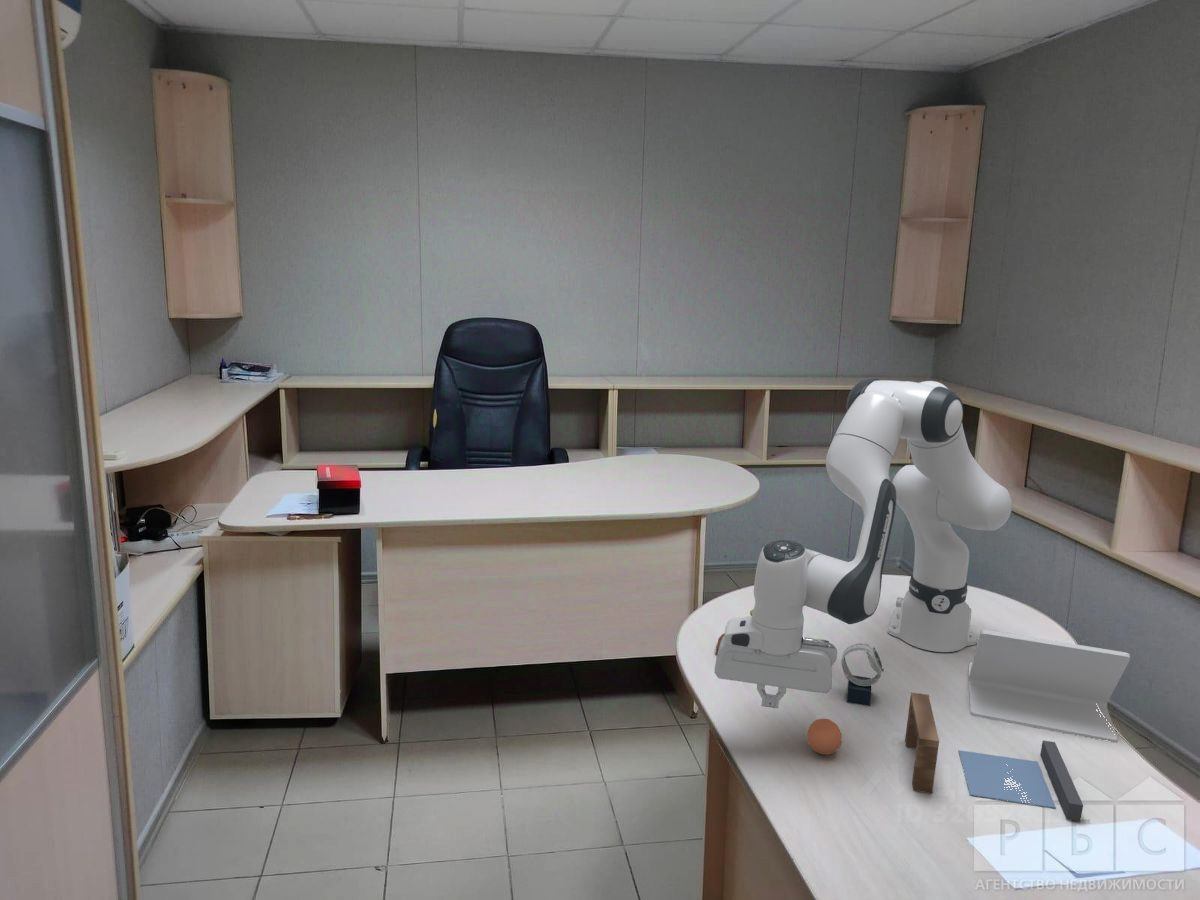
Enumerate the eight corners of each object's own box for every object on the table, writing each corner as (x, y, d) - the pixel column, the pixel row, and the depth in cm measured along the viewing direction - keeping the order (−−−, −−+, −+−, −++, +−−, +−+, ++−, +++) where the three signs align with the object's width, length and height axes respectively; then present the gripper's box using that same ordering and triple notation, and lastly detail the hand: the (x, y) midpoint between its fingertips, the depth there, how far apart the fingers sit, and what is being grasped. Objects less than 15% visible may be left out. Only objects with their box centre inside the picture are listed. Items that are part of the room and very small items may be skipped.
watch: (880, 707, 173) (886, 656, 170) (837, 700, 175) (842, 649, 172) (880, 693, 178) (885, 643, 176) (838, 687, 180) (843, 637, 178)
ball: (805, 739, 162) (808, 710, 160) (840, 744, 161) (843, 714, 159) (805, 758, 156) (808, 728, 155) (840, 763, 155) (843, 733, 154)
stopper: (1040, 755, 159) (1042, 740, 158) (1052, 757, 158) (1054, 742, 158) (1066, 819, 142) (1069, 803, 141) (1080, 821, 141) (1083, 805, 141)
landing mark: (958, 751, 160) (958, 750, 159) (1037, 762, 157) (1037, 761, 157) (969, 795, 147) (970, 794, 147) (1055, 808, 144) (1055, 807, 144)
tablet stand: (1117, 744, 163) (1134, 659, 159) (970, 716, 171) (982, 635, 167) (1100, 696, 180) (1115, 618, 175) (967, 673, 188) (977, 597, 183)
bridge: (913, 790, 148) (919, 738, 146) (904, 740, 162) (910, 692, 160) (932, 793, 148) (939, 741, 145) (922, 742, 162) (928, 694, 159)
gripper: (837, 634, 156) (830, 705, 159) (719, 619, 160) (715, 688, 164) (838, 650, 150) (830, 724, 153) (716, 634, 154) (711, 706, 158)
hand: (770, 705), depth 158 cm, fingers closed
